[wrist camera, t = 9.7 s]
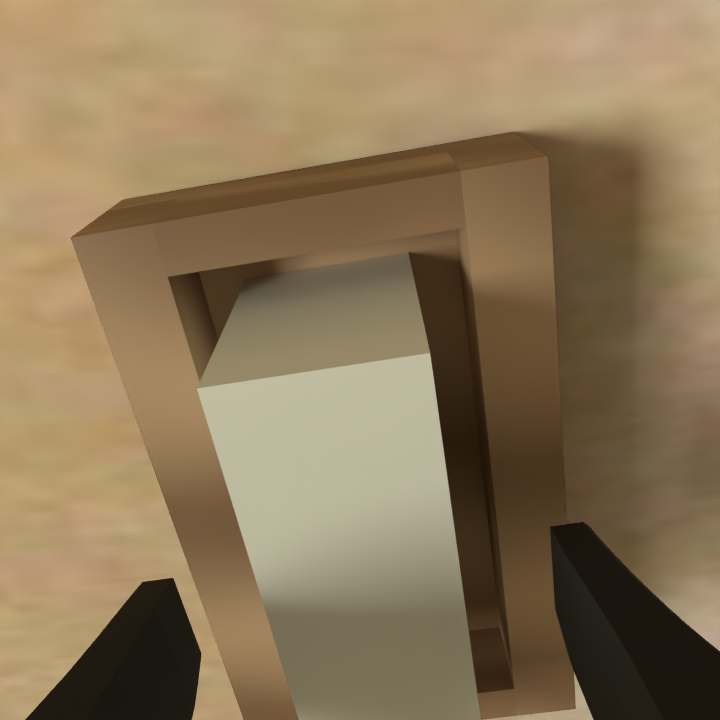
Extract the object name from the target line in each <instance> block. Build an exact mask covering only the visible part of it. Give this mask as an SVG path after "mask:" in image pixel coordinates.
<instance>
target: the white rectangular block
mask: <svg viewBox="0 0 720 720" xmlns="http://www.w3.org/2000/svg"><path fill="white" fill-rule="evenodd" d="M197 391H198V394H199V397H200V401H201V404H202V407H203V410H204V414H205V417H206V420H207V423H208V427H209V430H210V433H211V436H212V440H213V443H214V446H215V449H216V453H217V456H218V459H219V462H220V466H221V469H222V472H223V475H224V478H225V482H226V485H227V488H228V491H229V495H230V498H231V501H232V504H233V508H234V511H235V514H236V517H237V521H238V524H239V527H240V530H241V534H242V537H243V540H244V543H245V547H246V550H247V553H248V556H249V560H250V563H251V566H252V569H253V573H254V576H255V579H256V582H257V586H258V589H259V592H260V595H261V599H262V602H263V605H264V608H265V612H266V615H267V618H268V621H269V625H270V628H271V631H272V634H273V638H274V641H275V644H276V647H277V651H278V654H279V657H280V660H281V664H282V667H283V670H284V673H285V677H286V680H287V683H288V686H289V690H290V693H291V696H292V699H293V703H294V706H295V709H296V712H297V716H298V719H299V720H481V717H480V710H479V703H478V696H477V688H476V681H475V674H474V667H473V659H472V652H471V645H470V638H469V630H468V623H467V616H466V609H465V601H464V594H463V587H462V580H461V573H460V565H459V558H458V551H457V544H456V536H455V529H454V522H453V515H452V507H451V500H450V493H449V486H448V478H447V471H446V464H445V457H444V449H443V442H442V435H441V428H440V421H439V413H438V406H437V399H436V392H435V384H434V377H433V370H432V363H431V355H430V350H429V345H428V341H427V336H426V332H425V327H424V322H423V318H422V313H421V309H420V304H419V299H418V295H417V290H416V286H415V281H414V276H413V272H412V267H411V263H410V258H409V254H408V252H406V253H399V254H393V255H387V256H381V257H375V258H369V259H363V260H357V261H351V262H344V263H338V264H332V265H326V266H320V267H314V268H308V269H302V270H295V271H289V272H283V273H277V274H271V275H265V276H259V277H253V278H246V280H245V282H244V285H243V287H242V289H241V291H240V294H239V296H238V298H237V300H236V302H235V305H234V307H233V309H232V311H231V314H230V316H229V318H228V320H227V323H226V325H225V327H224V329H223V331H222V334H221V336H220V338H219V340H218V343H217V345H216V347H215V349H214V351H213V354H212V356H211V358H210V360H209V363H208V365H207V367H206V369H205V371H204V374H203V376H202V378H201V380H200V383H199V385H198V387H197Z"/></svg>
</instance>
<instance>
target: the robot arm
mask: <svg viewBox="0 0 720 720" xmlns="http://www.w3.org/2000/svg"><path fill="white" fill-rule="evenodd" d="M550 538H551V553H552V569H553V585H554V600H555V610H556V614H557V617H558V621H559V625H560V628H561V632H562V635H563V639H564V642H565V646H566V649H567V652H568V656H569V659H570V662H571V665H572V667H573V670H574V672H575V675H576V677H577V680H578V682H579V685H580V687H581V690H582V692H583V695H584V697H585V700H586V702H587V705H588V707H589V709H590V712H591V714H592V717H593V719H594V720H720V651H719V650H717V649H716V648H715V647H714V646H712V645H711V644H710V643H709V642H707V641H706V640H705V639H704V638H703V637H701V636H700V635H699V634H698V633H697V632H696V631H694V630H693V629H692V628H691V627H690V626H688V625H687V624H686V623H685V622H684V621H683V620H681V619H680V618H679V617H678V616H677V615H676V614H675V613H674V612H673V611H671V610H670V609H669V608H668V607H667V606H666V605H665V604H664V603H663V602H662V601H661V600H660V599H659V598H657V597H656V596H655V595H654V594H653V593H652V592H651V591H650V590H649V589H648V588H647V587H646V586H645V585H644V584H643V583H642V582H641V581H640V580H639V579H638V578H637V577H636V576H635V575H634V574H633V573H632V572H631V571H630V570H629V569H628V568H627V567H626V566H625V565H624V564H623V563H622V562H621V561H620V560H619V559H618V558H617V557H616V556H615V555H614V554H613V553H612V552H611V550H610V549H609V548H608V547H607V546H606V545H605V544H604V543H603V542H602V541H601V539H600V538H599V537H598V536H597V535H596V534H595V533H594V532H593V530H592V529H591V528H590V527H589V526H588V525H586V524H585V523H584V522H580V523H573V524H565V525H558V526H551V527H550ZM200 662H201V651H200V649H199V646H198V643H197V641H196V638H195V635H194V633H193V630H192V627H191V625H190V622H189V619H188V617H187V614H186V611H185V609H184V606H183V603H182V600H181V598H180V595H179V592H178V590H177V587H176V584H175V582H174V579H173V578H169V579H161V580H154V581H147V582H142V583H141V585H140V586H139V587H138V588H137V589H136V590H135V592H134V593H133V594H132V595H131V596H130V598H129V599H128V600H127V601H126V603H125V604H124V605H123V606H122V608H121V609H120V610H119V611H118V613H117V614H116V615H115V616H114V617H113V619H112V620H111V621H110V622H109V624H108V625H107V626H106V627H105V629H104V630H103V631H102V632H101V634H100V635H99V636H98V637H97V638H96V640H95V641H94V642H93V643H92V644H91V646H90V647H89V648H88V649H87V650H86V652H85V653H84V654H83V655H82V656H81V658H80V659H79V660H78V661H77V662H76V664H75V665H74V666H73V667H72V668H71V670H70V671H69V672H68V673H67V674H66V675H65V676H64V678H63V679H62V680H61V681H60V682H59V683H58V684H57V685H56V686H55V687H54V689H53V690H52V691H51V692H50V693H49V694H48V695H47V696H46V697H45V699H44V700H43V701H42V702H41V703H40V704H39V705H38V706H37V707H36V709H35V710H34V711H33V712H32V713H31V714H30V715H29V716H28V717H27V718H26V719H25V720H192V716H193V711H194V707H195V700H196V693H197V686H198V679H199V670H200Z"/></svg>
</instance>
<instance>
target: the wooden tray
mask: <svg viewBox="0 0 720 720" xmlns="http://www.w3.org/2000/svg"><path fill="white" fill-rule="evenodd" d="M71 240H72V243H73V246H74V249H75V251H76V254H77V257H78V260H79V262H80V265H81V268H82V271H83V274H84V276H85V279H86V282H87V285H88V288H89V290H90V293H91V296H92V299H93V301H94V304H95V307H96V310H97V313H98V315H99V318H100V321H101V324H102V326H103V329H104V332H105V335H106V338H107V340H108V343H109V346H110V349H111V351H112V354H113V357H114V360H115V363H116V365H117V368H118V371H119V374H120V377H121V379H122V382H123V385H124V388H125V390H126V393H127V396H128V399H129V402H130V404H131V407H132V410H133V413H134V415H135V418H136V421H137V424H138V427H139V429H140V432H141V435H142V438H143V441H144V443H145V446H146V449H147V452H148V454H149V457H150V460H151V463H152V466H153V468H154V471H155V474H156V477H157V479H158V482H159V485H160V488H161V491H162V493H163V496H164V499H165V502H166V504H167V507H168V510H169V513H170V516H171V518H172V521H173V524H174V527H175V530H176V532H177V535H178V538H179V541H180V543H181V546H182V549H183V552H184V555H185V557H186V560H187V563H188V566H189V568H190V571H191V574H192V577H193V580H194V582H195V585H196V588H197V591H198V593H199V596H200V599H201V602H202V605H203V607H204V610H205V613H206V616H207V619H208V621H209V624H210V627H211V630H212V632H213V635H214V638H215V641H216V644H217V646H218V649H219V652H220V655H221V657H222V660H223V663H224V666H225V669H226V671H227V674H228V677H229V680H230V683H231V685H232V688H233V691H234V694H235V696H236V699H237V702H238V705H239V708H240V710H241V713H242V716H243V719H244V720H299V719H298V716H297V712H296V709H295V706H294V703H293V699H292V696H291V693H290V690H289V686H288V683H287V680H286V677H285V673H284V670H283V667H282V664H281V660H280V657H279V654H278V651H277V647H276V644H275V641H274V638H273V634H272V631H271V628H270V625H269V621H268V618H267V615H266V612H265V608H264V605H263V602H262V599H261V595H260V592H259V589H258V586H257V582H256V579H255V576H254V573H253V569H252V566H251V563H250V560H249V556H248V553H247V550H246V547H245V543H244V540H243V537H242V534H241V530H240V527H239V524H238V521H237V517H236V514H235V511H234V508H233V504H232V501H231V498H230V495H229V491H228V488H227V485H226V482H225V478H224V475H223V472H222V469H221V466H220V462H219V459H218V456H217V453H216V449H215V446H214V443H213V440H212V436H211V433H210V430H209V427H208V423H207V420H206V417H205V414H204V410H203V407H202V404H201V401H200V397H199V394H198V391H197V387H198V385H199V383H200V380H201V378H202V376H203V374H204V371H205V369H206V367H207V365H208V363H209V360H210V358H211V356H212V354H213V351H214V349H215V347H216V345H217V343H218V340H219V338H220V336H221V334H222V331H223V329H224V327H225V325H226V323H227V320H228V318H229V316H230V314H231V311H232V309H233V307H234V305H235V302H236V300H237V298H238V296H239V294H240V291H241V289H242V287H243V285H244V282H245V280H246V278H253V277H259V276H265V275H271V274H277V273H283V272H289V271H295V270H302V269H308V268H314V267H320V266H326V265H332V264H338V263H344V262H351V261H357V260H363V259H369V258H375V257H381V256H387V255H393V254H399V253H406V252H408V254H409V258H410V263H411V267H412V272H413V276H414V281H415V286H416V290H417V295H418V299H419V304H420V309H421V313H422V318H423V322H424V327H425V332H426V336H427V341H428V345H429V350H430V355H431V363H432V370H433V377H434V384H435V392H436V399H437V406H438V413H439V421H440V428H441V435H442V442H443V449H444V457H445V464H446V471H447V478H448V486H449V493H450V500H451V507H452V515H453V522H454V529H455V536H456V544H457V551H458V558H459V565H460V573H461V580H462V587H463V594H464V601H465V609H466V616H467V623H468V630H469V638H470V645H471V652H472V659H473V667H474V674H475V681H476V688H477V696H478V703H479V710H480V717H481V720H482V719H491V718H499V717H508V716H517V715H526V714H535V713H543V712H552V711H561V710H570V709H576V705H575V685H574V670H573V667H572V665H571V662H570V659H569V656H568V652H567V649H566V646H565V642H564V639H563V635H562V632H561V628H560V625H559V621H558V617H557V614H556V610H555V600H554V585H553V569H552V553H551V538H550V527H551V526H558V525H565V524H566V503H565V483H564V463H563V443H562V423H561V403H560V382H559V362H558V342H557V322H556V302H555V281H554V261H553V241H552V221H551V201H550V181H549V160H548V155H546V154H545V153H543V152H542V151H540V150H539V149H537V148H536V147H534V146H533V145H532V144H530V143H529V142H527V141H526V140H524V139H523V138H521V137H520V136H518V135H517V134H515V133H514V132H509V133H503V134H498V135H492V136H486V137H480V138H475V139H469V140H463V141H458V142H452V143H446V144H440V145H435V146H429V147H423V148H417V149H412V150H406V151H400V152H394V153H389V154H383V155H377V156H371V157H366V158H360V159H354V160H348V161H343V162H337V163H331V164H326V165H320V166H314V167H308V168H303V169H297V170H291V171H285V172H280V173H274V174H268V175H262V176H257V177H251V178H245V179H239V180H234V181H228V182H222V183H217V184H211V185H205V186H199V187H194V188H188V189H182V190H176V191H171V192H165V193H159V194H153V195H148V196H142V197H136V198H130V199H125V200H122V201H120V202H119V203H117V204H116V205H115V206H113V207H112V208H111V209H109V210H108V211H106V212H105V213H104V214H102V215H101V216H100V217H98V218H97V219H96V220H94V221H93V222H91V223H90V224H89V225H87V226H86V227H85V228H83V229H82V230H80V231H79V232H78V233H76V234H75V235H74V236H72V237H71Z"/></svg>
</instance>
